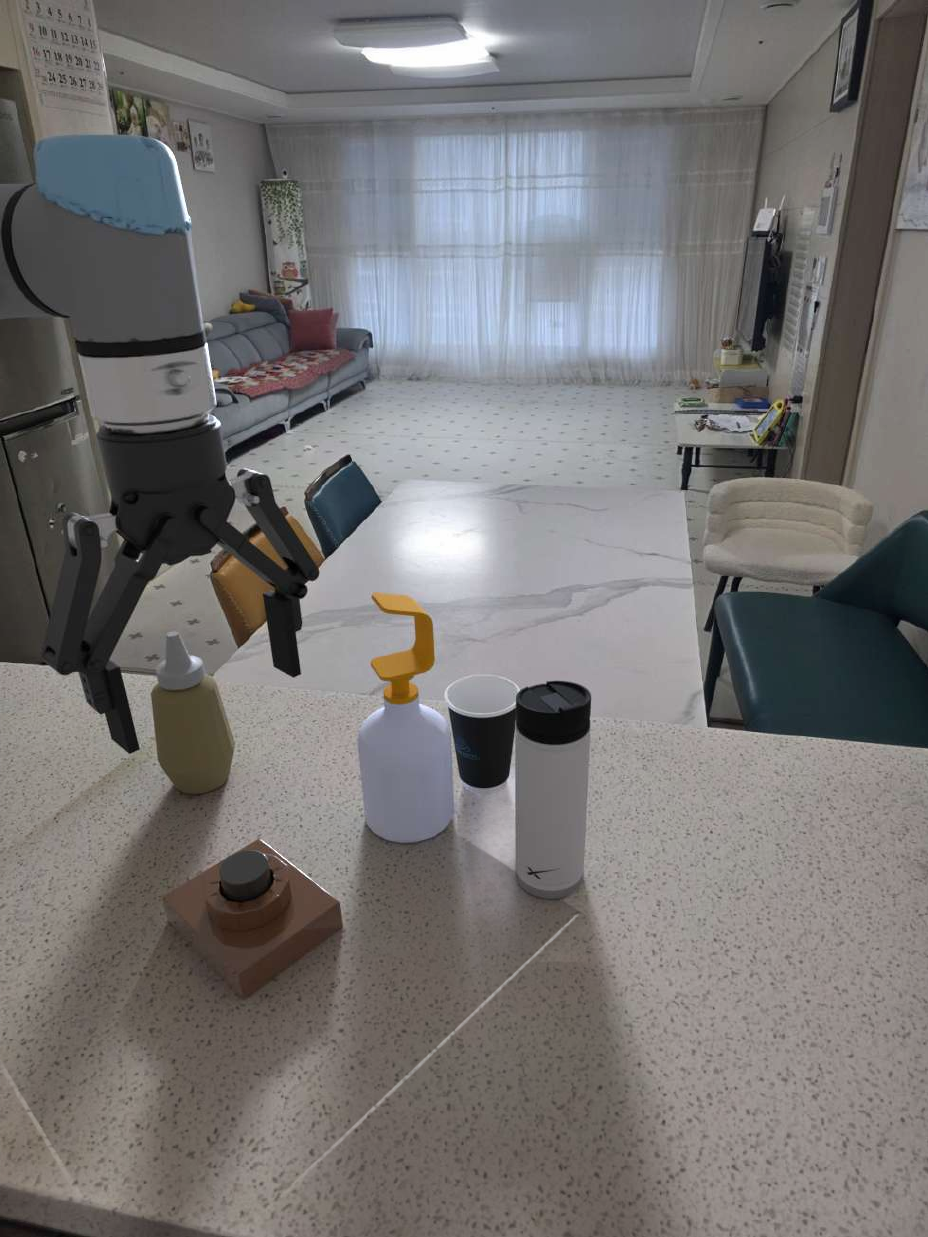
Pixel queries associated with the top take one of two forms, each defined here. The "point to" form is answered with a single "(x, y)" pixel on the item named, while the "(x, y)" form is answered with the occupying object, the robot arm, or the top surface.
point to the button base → (253, 922)
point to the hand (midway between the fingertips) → (212, 705)
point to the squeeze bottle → (190, 722)
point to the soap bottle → (406, 742)
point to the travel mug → (551, 787)
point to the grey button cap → (245, 876)
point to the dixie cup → (483, 730)
